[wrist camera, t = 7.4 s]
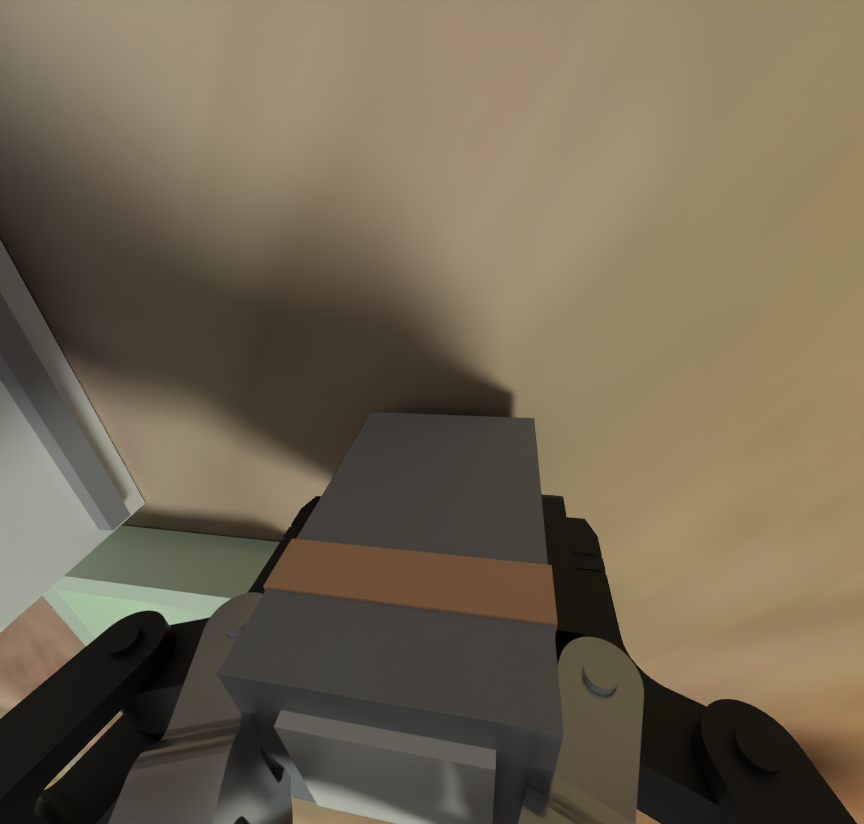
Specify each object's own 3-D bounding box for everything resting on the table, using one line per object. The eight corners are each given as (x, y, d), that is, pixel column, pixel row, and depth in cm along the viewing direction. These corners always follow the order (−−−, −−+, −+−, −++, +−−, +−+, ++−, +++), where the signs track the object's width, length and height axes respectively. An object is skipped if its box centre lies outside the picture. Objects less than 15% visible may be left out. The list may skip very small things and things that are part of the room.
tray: (312, 545, 16) (279, 605, 14) (362, 722, 23) (347, 779, 21) (82, 521, 18) (20, 570, 15) (197, 692, 25) (168, 741, 23)
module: (536, 416, 10) (571, 754, 4) (525, 538, 13) (538, 870, 7) (369, 410, 11) (202, 687, 5) (387, 526, 14) (287, 812, 7)
